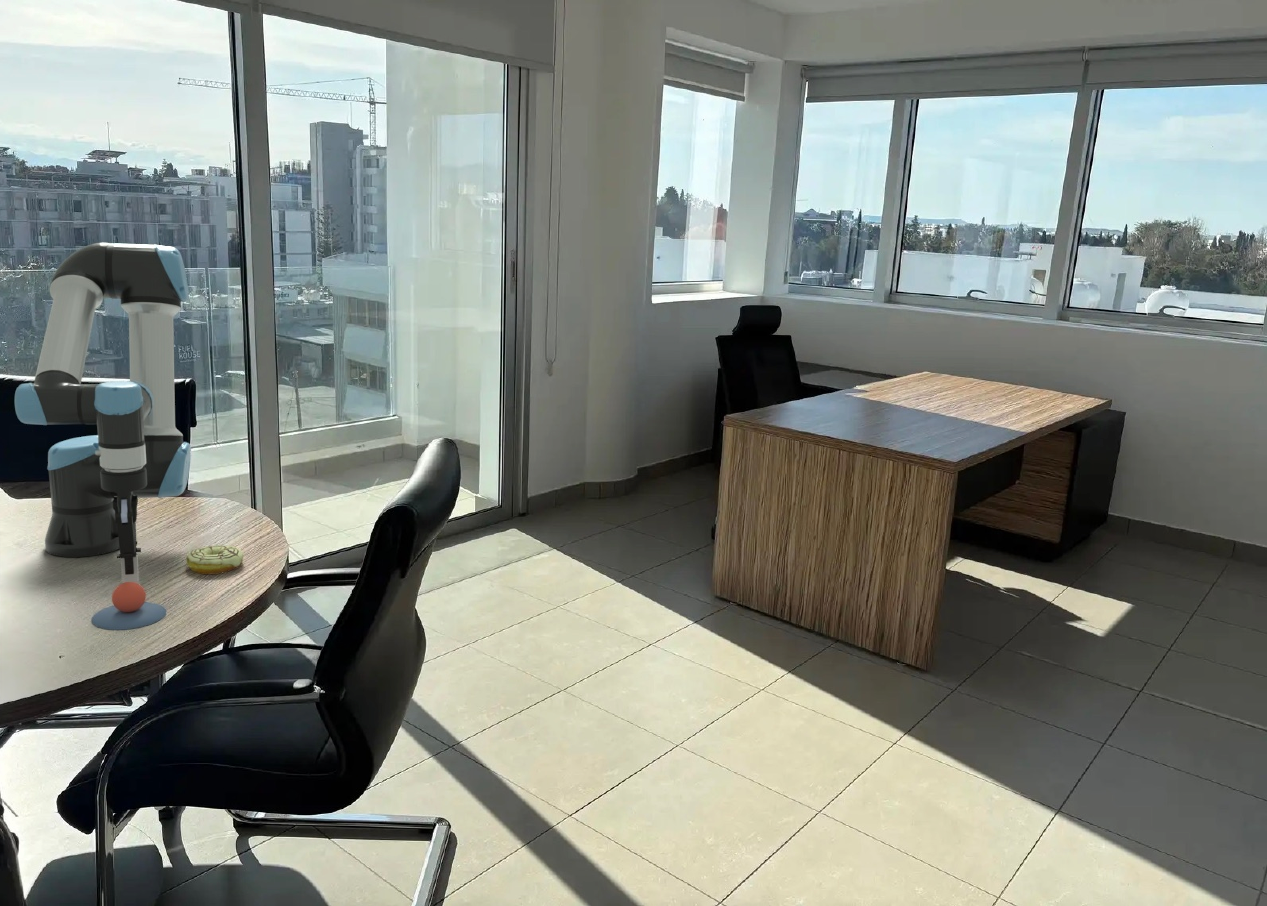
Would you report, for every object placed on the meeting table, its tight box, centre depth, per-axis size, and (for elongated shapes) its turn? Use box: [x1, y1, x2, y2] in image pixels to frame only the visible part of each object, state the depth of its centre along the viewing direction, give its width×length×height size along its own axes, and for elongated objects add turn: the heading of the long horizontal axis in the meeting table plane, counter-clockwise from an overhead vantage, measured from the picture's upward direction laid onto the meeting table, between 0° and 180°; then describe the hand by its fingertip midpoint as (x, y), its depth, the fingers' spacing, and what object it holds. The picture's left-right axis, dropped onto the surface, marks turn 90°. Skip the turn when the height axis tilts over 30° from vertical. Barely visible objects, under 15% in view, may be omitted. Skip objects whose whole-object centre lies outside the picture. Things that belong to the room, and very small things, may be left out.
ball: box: [111, 582, 147, 612], centre depth 176 cm, size 6×6×6 cm
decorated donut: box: [185, 544, 244, 575], centre depth 200 cm, size 10×11×4 cm
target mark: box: [91, 601, 167, 631], centre depth 175 cm, size 12×12×1 cm
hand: (131, 587), depth 183 cm, fingers closed
